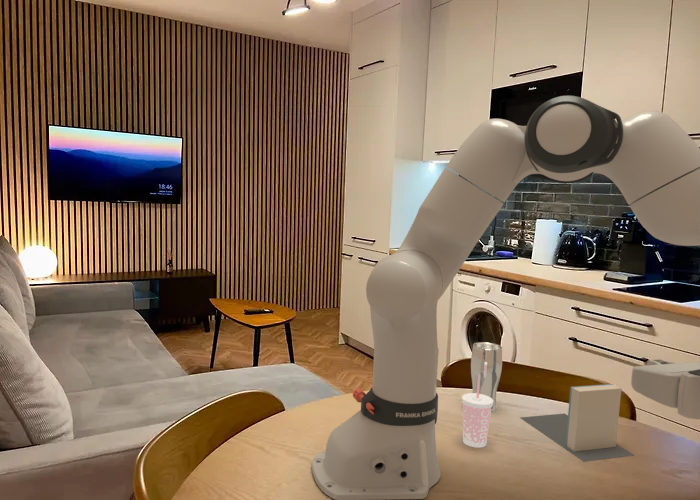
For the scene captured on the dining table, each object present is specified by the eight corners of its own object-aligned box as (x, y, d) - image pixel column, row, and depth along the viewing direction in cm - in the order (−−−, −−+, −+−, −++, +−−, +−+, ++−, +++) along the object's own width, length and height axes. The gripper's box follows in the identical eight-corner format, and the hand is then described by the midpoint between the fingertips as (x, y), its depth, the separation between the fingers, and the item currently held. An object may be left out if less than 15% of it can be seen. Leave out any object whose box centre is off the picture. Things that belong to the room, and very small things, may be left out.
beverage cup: (466, 450, 100) (471, 379, 98) (454, 436, 106) (458, 369, 104) (495, 448, 101) (501, 378, 100) (481, 434, 107) (486, 368, 106)
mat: (583, 463, 96) (583, 461, 96) (519, 419, 116) (519, 417, 115) (634, 457, 100) (635, 455, 100) (564, 415, 119) (564, 413, 119)
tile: (574, 451, 100) (579, 391, 99) (565, 445, 103) (570, 386, 102) (615, 446, 103) (621, 388, 102) (606, 440, 106) (611, 384, 104)
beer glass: (502, 415, 117) (507, 350, 116) (471, 413, 117) (476, 349, 116) (494, 403, 124) (498, 342, 123) (465, 402, 124) (469, 341, 123)
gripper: (785, 367, 79) (700, 343, 92) (681, 376, 73) (607, 349, 86) (780, 407, 79) (697, 377, 93) (677, 419, 74) (604, 385, 87)
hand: (653, 364), depth 89 cm, fingers closed
